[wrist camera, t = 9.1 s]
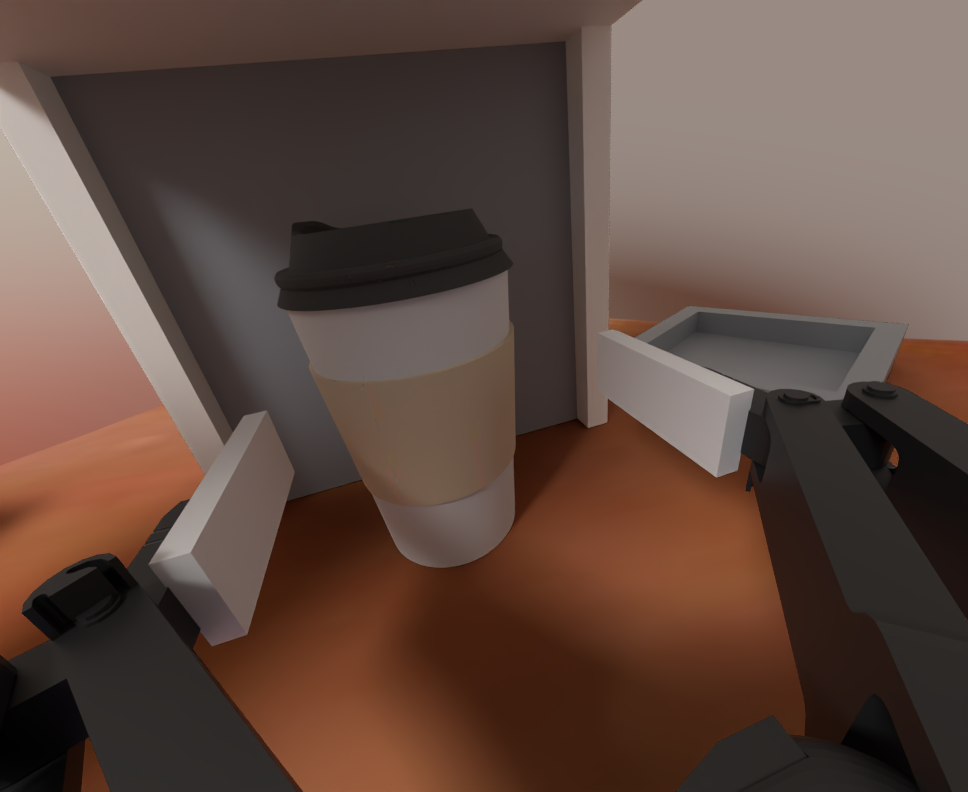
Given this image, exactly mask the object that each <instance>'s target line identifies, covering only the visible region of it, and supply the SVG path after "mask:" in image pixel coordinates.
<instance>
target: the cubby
mask: <svg viewBox="0 0 968 792" xmlns="http://www.w3.org/2000/svg"><path fill="white" fill-rule="evenodd" d="M641 1H642V0H0V128H1V130H2V131H3V133H4V135H5V137H6V138H7V140H8V142H9V143H10V145H11V147H12V148H13V150H14V152H15V154H16V155H17V157H18V158H19V160H20V162H21V164H22V165H23V167H24V169H25V170H26V172H27V174H28V176H29V177H30V179H31V180H32V182H33V184H34V186H35V187H36V189H37V191H38V193H39V194H40V196H41V198H42V199H43V201H44V203H45V204H46V206H47V208H48V209H49V211H50V213H51V215H52V216H53V218H54V220H55V221H56V223H57V225H58V226H59V228H60V230H61V231H62V233H63V235H64V237H65V238H66V240H67V242H68V243H69V245H70V247H71V248H72V250H73V252H74V254H75V255H76V257H77V259H78V260H79V262H80V264H81V265H82V267H83V269H84V270H85V272H86V274H87V276H88V277H89V279H90V281H91V282H92V284H93V285H94V287H95V289H96V291H97V293H98V294H99V296H100V298H101V299H102V301H103V303H104V304H105V306H106V308H107V310H108V311H109V313H110V314H111V316H112V318H113V320H114V321H115V323H116V325H117V326H118V328H119V330H120V332H121V333H122V335H123V337H124V338H125V340H126V342H127V343H128V345H129V347H130V349H131V350H132V352H133V353H134V355H135V357H136V359H137V360H138V362H139V364H140V365H141V367H142V369H143V370H144V372H145V374H146V376H147V377H148V379H149V381H150V382H151V384H152V386H153V388H154V389H155V391H156V392H157V394H158V396H159V398H160V399H161V401H162V403H163V405H164V406H165V408H166V410H167V411H168V413H169V415H170V416H171V418H172V420H173V421H174V423H175V425H176V427H177V428H178V430H179V432H180V433H181V435H182V437H183V438H184V440H185V442H186V444H187V445H188V447H189V449H190V450H191V452H192V454H193V455H194V457H195V459H196V460H197V462H198V464H199V466H200V467H201V469H202V471H203V472H204V474H205V476H206V474H207V472H208V471H209V469H210V468H211V466H212V465H213V463H214V462H215V460H216V458H217V457H218V455H219V454H220V452H221V451H222V449H223V448H224V446H225V444H226V443H227V441H228V440H229V438H230V437H231V435H232V434H233V432H234V430H235V429H236V427H237V426H238V424H239V423H240V421H241V420H242V418H243V416H245V415H249V414H253V413H258V412H262V411H266V410H267V412H268V414H269V416H270V418H271V420H272V423H273V425H274V427H275V429H276V431H277V434H278V436H279V438H280V440H281V442H282V445H283V447H284V449H285V451H286V453H287V456H288V458H289V460H290V462H291V464H292V467H293V469H294V471H295V473H294V477H293V480H292V483H291V487H290V490H289V494H288V497H287V501H289V500H292V499H296V498H299V497H303V496H306V495H310V494H313V493H317V492H321V491H324V490H328V489H331V488H335V487H338V486H342V485H345V484H349V483H352V482H356V481H359V480H362V478H361V476H360V474H359V472H358V470H357V468H356V466H355V464H354V461H353V459H352V457H351V455H350V453H349V451H348V449H347V447H346V445H345V443H344V441H343V439H342V437H341V434H340V432H339V430H338V428H337V426H336V424H335V422H334V420H333V418H332V416H331V414H330V412H329V410H328V407H327V405H326V403H325V401H324V399H323V397H322V395H321V393H320V391H319V389H318V387H317V385H316V383H315V380H314V378H313V376H312V374H311V372H310V370H309V363H310V360H309V358H308V356H307V353H306V351H305V349H304V347H303V345H302V343H301V341H300V338H299V336H298V334H297V332H296V330H295V328H294V325H293V323H292V321H291V319H290V317H289V315H288V313H287V310H284V309H281V308H279V307H278V306H277V303H278V298H279V293H280V289H281V288H279V287H278V286H277V285H276V283H275V280H274V277H275V274H276V273H277V272H278V271H280V270H283V269H285V268H288V267H289V261H290V247H291V230H292V224H293V223H296V222H307V221H317V222H322V223H325V224H327V225H329V226H332V227H337V228H347V227H354V226H360V225H367V224H373V223H379V222H386V221H392V220H399V219H405V218H412V217H418V216H425V215H431V214H438V213H444V212H450V211H457V210H464V209H470V208H472V209H473V211H474V212H475V214H476V215H477V217H478V219H479V220H480V222H481V223H482V225H483V227H484V228H485V230H486V231H487V233H488V234H496V235H498V236H499V237H500V238H501V239H502V243H503V246H502V249H503V250H504V251H505V253H506V254H507V255H508V257H509V258H510V259H511V261H512V262H513V265H512V267H511V268H509V269H508V300H509V320H510V321H511V322H512V324H513V326H514V368H515V436H517V435H521V434H524V433H528V432H531V431H535V430H538V429H542V428H545V427H549V426H552V425H556V424H559V423H563V422H566V421H570V420H573V419H577V418H578V419H579V420H580V421H581V422H582V423H583V424H584V425H585V426H586V427H588V428H590V427H594V426H597V425H601V424H604V423H607V415H608V398H606V397H605V396H603V395H602V394H601V393H599V392H598V333H600V332H604V331H608V316H609V314H608V313H609V311H608V310H609V216H610V213H609V211H610V207H609V206H610V116H611V115H610V113H611V112H610V110H611V109H610V108H611V25H612V24H613V23H615V22H616V21H617V20H618V19H619V18H621V17H622V16H623V15H625V14H626V13H627V12H628V11H630V10H631V9H632V8H633V7H634V6H636V5H637V4H638V3H639V2H641Z"/></svg>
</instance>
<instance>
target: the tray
mask: <svg viewBox="0 0 968 792" xmlns="http://www.w3.org/2000/svg"><path fill="white" fill-rule="evenodd" d="M907 327H908V324H900V323H888V322H876V321H864V320H852V319H840V318H827V317H816V316H815V317H814V316H802V315H791V314H779V313H767V312H755V311H742V310H730V309H718V308H706V307H695V306H688V307H686V308H685V309H683V310H681V311H679V312H678V313H676V314H674V315H673V316H671V317H669V318H667V319H666V320H664V321H662V322H660V323H659V324H657V325H655V326H654V327H652V328H650V329H648V330H647V331H645V332H643V333H642V334H640V335H638V336H636V337H635V339H638V340H640V341H643V342H645V343H647V344H650V345H652V346H654V347H657V348H659V349H661V350H664V351H666V352H668V353H671V354H673V355H675V356H678V357H680V358H682V359H685V360H687V361H689V362H692V363H694V364H696V365H699V366H702V367H707V368H711V369H713V370H715V371H718V372H720V373H722V375H727V376H730V377H732V378H733V380H734V379H737V380H739V381H741V382H744V383H746V384H749V385H751V386H753V387H756V388H758V389H760V390H763V391H765V392H768V393H769V392H770V391H772V390H777V389H796V390H803V391H806V392H810V393H813V394H816V395H818V396H820V397H821V398H823V399H824V400H825V401H829V400H842V399H844V395H845V392H846V389H847V386H848V385H849V384H852V383H854V382H862V381H864V382H871V381H880V382H886V381H887V378H888V376H889V374H890V371H891V369H892V367H893V365H894V362H895V359H896V357H897V354H898V351H899V349H900V346H901V343H902V341H903V338H904V335H905V333H906V330H907Z"/></svg>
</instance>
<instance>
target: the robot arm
mask: <svg viewBox="0 0 968 792" xmlns="http://www.w3.org/2000/svg"><path fill="white" fill-rule="evenodd" d="M598 392H599V393H601V394H602V395H603V396H605V397H606V398H608V399H609V400H610V401H612V402H613V403H614V404H616V405H617V406H619V407H620V408H621V409H623V410H624V411H625V412H627V413H628V414H630V415H631V416H632V417H634V418H635V419H636V420H638V421H639V422H641V423H642V424H643V425H645V426H646V427H647V428H649V429H650V430H652V431H653V432H654V433H656V434H657V435H659V436H660V437H661V438H663V439H664V440H665V441H667V442H668V443H670V444H671V445H672V446H674V447H675V448H676V449H678V450H679V451H681V452H682V453H683V454H685V455H686V456H687V457H689V458H690V459H692V460H693V461H694V462H696V463H697V464H698V465H700V466H701V467H703V468H704V469H705V470H707V471H708V472H709V473H711V474H712V475H714V476H715V477H716V478H717V477H720V476H723V475H726V474H729V473H732V472H735V471H738V467H739V462H740V457H741V453H742V454H744V455H745V456H747V457H749V458H750V459H752V463H751V467H750V472H749V476H748V481H747V485H746V491H749V492H750V489H751V487H752V486H754V490H755V494H756V498H757V503H758V507H759V511H760V515H761V520H762V524H763V528H764V532H765V536H766V541H767V545H768V549H769V553H770V557H771V562H772V566H773V570H774V574H775V578H776V583H777V587H778V591H779V595H780V600H781V604H782V608H783V612H784V616H785V621H786V625H787V629H788V633H789V637H790V642H791V646H792V650H793V654H794V658H795V663H796V667H797V671H798V675H799V680H800V684H801V688H802V692H803V696H804V702H805V711H806V719H805V736H796V735H789V734H788V733H787V732H786V731H785V729H784V728H783V727H782V726H781V725H780V723H779V722H778V721H777V720H776V718H775V717H774V716H773V715H772V716H770V717H768V718H766V719H764V720H762V721H760V722H758V723H756V724H754V725H752V726H750V727H748V728H746V729H744V730H742V731H740V732H737V733H735V734H733V735H731V736H729V737H727V738H725V739H723V740H721V741H719V742H717V743H716V745H715V746H714V747H713V748H712V749H711V751H710V752H709V753H708V754H707V755H706V756H705V758H704V759H703V760H702V761H701V762H700V764H699V765H698V766H697V767H696V768H695V769H694V771H693V772H692V773H691V774H690V775H689V777H688V778H687V779H686V780H685V781H684V782H683V784H682V785H681V786H680V787H679V788H678V790H677V791H676V792H968V621H967V620H968V424H966V423H965V422H963V421H961V420H959V419H958V418H956V417H954V416H952V415H951V414H949V413H947V412H945V411H944V410H942V409H940V408H938V407H937V406H935V405H933V404H931V403H930V402H928V401H926V400H924V399H923V398H921V397H919V396H917V395H916V394H914V393H912V392H910V391H908V390H906V389H904V388H901V387H898V386H895V385H891V384H890V383H886V382H880V381H871V382H864V381H862V382H854V383H852V384H849V385H848V386H847V389H846V392H845V395H844V399H842V400H829V401H825V400H824V399H823V398H821V397H820V396H818V395H816V394H813V393H810V392H806V391H803V390H796V389H777V390H772V391H770V392H769V393H768V392H765V391H763V390H760V389H758V388H756V387H753V386H751V385H749V384H746V383H744V382H741V381H739V380H737V379H734V380H733V378H732V377H730V376H727V375H722V373H720V372H718V371H715V370H713V369H711V368H707V367H702V366H699V365H696V364H694V363H692V362H689V361H687V360H685V359H682V358H680V357H678V356H675V355H673V354H671V353H668V352H666V351H664V350H661V349H659V348H657V347H654V346H652V345H650V344H647V343H645V342H643V341H640V340H638V339H635V338H633V337H631V336H628V335H626V334H624V333H621V332H619V331H617V330H614V329H613V330H608V331H604V332H600V333H598ZM894 447H895V448H896V450H897V452H898V455H899V462H898V466H897V467H895V466H894V465H893V464H892V463H890V462H889V459H890V456H891V454H892V452H893V449H894ZM294 473H295V471H294V469H293V467H292V464H291V462H290V460H289V458H288V456H287V453H286V451H285V449H284V447H283V445H282V442H281V440H280V438H279V436H278V434H277V431H276V429H275V427H274V425H273V423H272V420H271V418H270V416H269V414H268V412H267V410H266V411H262V412H258V413H253V414H249V415H245V416H243V418H242V420H241V421H240V423H239V424H238V426H237V427H236V429H235V430H234V432H233V434H232V435H231V437H230V438H229V440H228V441H227V443H226V444H225V446H224V448H223V449H222V451H221V452H220V454H219V455H218V457H217V458H216V460H215V462H214V463H213V465H212V466H211V468H210V469H209V471H208V472H207V474H206V476H205V477H204V479H203V480H202V482H201V483H200V485H199V486H198V488H197V489H196V491H195V493H194V494H193V496H192V497H191V499H189V500H185V501H181V502H180V503H178V504H177V505H176V506H175V507H174V508H173V509H172V510H170V511H169V512H168V513H167V514H166V515H165V516H164V517H163V518H162V520H161V521H160V522H159V524H158V525H157V527H156V528H155V530H154V533H153V534H151V535H150V537H149V538H148V540H147V541H146V543H145V546H143V547H142V548H141V550H140V551H139V553H138V554H137V555H136V557H135V558H134V560H133V561H132V563H131V564H130V566H129V567H128V568H127V569H126V568H125V566H124V565H123V564H122V563H121V562H120V560H119V559H118V558H117V557H116V556H114V555H112V554H110V553H109V554H99V555H95V556H92V557H89V558H86V559H83V560H81V561H79V562H77V563H75V564H73V565H71V566H69V567H67V568H65V569H63V570H62V571H60V572H59V573H57V574H56V575H54V576H52V577H51V578H49V579H48V580H47V581H45V582H44V583H43V584H42V585H41V586H40V587H38V588H37V589H36V590H35V591H34V592H33V593H32V594H31V595H30V596H29V598H28V599H27V600H26V602H25V603H24V604H23V609H22V614H23V615H24V616H25V617H27V618H28V619H29V620H30V621H31V622H32V623H33V624H34V625H35V626H36V627H37V628H39V629H40V630H41V631H42V632H43V633H44V634H45V635H46V636H47V637H48V638H49V639H51V640H49V641H47V642H45V643H43V644H41V645H39V646H37V647H35V648H33V649H31V650H29V651H27V652H25V653H23V654H21V655H19V656H17V657H15V658H13V659H11V660H9V661H7V660H6V659H5V658H3V657H2V656H1V655H0V792H81V785H82V773H83V760H84V748H85V739H86V738H88V737H90V740H91V742H92V745H93V748H94V750H95V753H96V755H97V758H98V761H99V763H100V766H101V768H102V771H103V774H104V776H105V779H106V781H107V784H108V787H109V789H110V792H303V791H302V790H301V789H300V787H299V786H298V785H297V783H296V782H295V781H294V779H293V778H292V777H291V776H290V774H289V773H288V772H287V770H286V769H285V768H284V767H283V765H282V764H281V763H280V761H279V760H278V759H277V757H276V756H275V755H274V754H273V752H272V751H271V750H270V748H269V747H268V746H267V745H266V743H265V742H264V741H263V739H262V738H261V737H260V735H259V734H258V733H257V732H256V730H255V729H254V728H253V726H252V725H251V724H250V723H249V721H248V720H247V719H246V717H245V716H244V715H243V713H242V712H241V711H240V710H239V708H238V707H237V706H236V704H235V703H234V702H233V700H232V699H231V698H230V697H229V695H228V694H227V693H226V691H225V690H224V689H223V688H222V686H221V685H220V684H219V682H218V681H217V680H216V678H215V677H214V676H213V675H212V673H211V672H210V671H209V669H208V668H207V667H206V666H205V664H204V663H203V662H202V660H201V659H200V658H199V656H198V655H197V654H196V653H195V652H194V650H193V647H194V644H195V642H196V639H197V637H198V635H199V632H201V633H202V635H203V636H204V637H205V638H206V640H207V641H208V642H209V644H210V645H211V646H215V645H218V644H221V643H224V642H227V641H230V640H233V639H236V638H239V637H242V636H245V635H247V634H248V631H249V627H250V624H251V620H252V617H253V614H254V610H255V607H256V603H257V600H258V596H259V593H260V590H261V586H262V583H263V579H264V576H265V572H266V569H267V566H268V562H269V559H270V555H271V552H272V548H273V545H274V542H275V538H276V535H277V531H278V528H279V524H280V521H281V518H282V514H283V511H284V507H285V504H286V501H287V497H288V494H289V490H290V487H291V483H292V480H293V477H294ZM966 618H967V619H966Z"/></svg>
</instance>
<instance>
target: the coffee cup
mask: <svg viewBox="0 0 968 792" xmlns="http://www.w3.org/2000/svg"><path fill="white" fill-rule="evenodd" d="M502 246H503V243H502V239H501V238H500V237H499V236H498V235H496V234H488V233H487V231H486V230H485V228H484V227H483V225H482V223H481V222H480V220H479V219H478V217H477V215H476V214H475V212H474V211H473V209H472V208H470V209H464V210H457V211H450V212H444V213H438V214H431V215H425V216H418V217H412V218H405V219H399V220H392V221H386V222H379V223H373V224H367V225H360V226H354V227H347V228H337V227H332V226H329V225H327V224H325V223H322V222H317V221H307V222H296V223H293V224H292V230H291V247H290V261H289V267H288V268H285V269H283V270H280V271H278V272H277V273H276V274H275V277H274V280H275V283H276V285H277V286H278V287H279V288H281V289H280V293H279V298H278V303H277V306H278V307H279V308H281V309H284V310H287V313H288V315H289V317H290V319H291V321H292V323H293V325H294V328H295V330H296V332H297V334H298V336H299V338H300V341H301V343H302V345H303V347H304V349H305V351H306V353H307V356H308V358H309V360H310V363H309V370H310V372H311V374H312V376H313V378H314V380H315V383H316V385H317V387H318V389H319V391H320V393H321V395H322V397H323V399H324V401H325V403H326V405H327V407H328V410H329V412H330V414H331V416H332V418H333V420H334V422H335V424H336V426H337V428H338V430H339V432H340V434H341V437H342V439H343V441H344V443H345V445H346V447H347V449H348V451H349V453H350V455H351V457H352V459H353V461H354V464H355V466H356V468H357V470H358V472H359V474H360V476H361V478H362V480H363V482H364V484H365V486H366V488H367V489H368V490H369V491H370V492H371V493H372V495H373V498H374V500H375V502H376V504H377V506H378V508H379V511H380V513H381V515H382V517H383V519H384V521H385V523H386V526H387V528H388V530H389V532H390V534H391V536H392V538H393V541H394V543H395V545H396V547H397V548H398V550H399V551H400V552H401V553H402V554H403V555H404V556H405V557H406V558H408V559H409V560H411V561H413V562H415V563H417V564H420V565H423V566H427V567H435V568H446V567H455V566H459V565H463V564H467V563H469V562H472V561H474V560H477V559H479V558H481V557H482V556H484V555H486V554H487V553H489V552H490V551H492V550H493V549H494V548H495V547H496V546H498V545H499V544H500V543H501V542H502V540H503V539H504V538H505V537H506V535H507V534H508V532H509V530H510V528H511V526H512V524H513V521H514V517H515V491H514V459H513V455H514V452H515V447H516V438H515V368H514V326H513V324H512V322H511V321H510V320H509V300H508V269H509V268H511V267H512V265H513V262H512V261H511V259H510V258H509V257H508V255H507V254H506V253H505V251H504V250H503V249H502Z"/></svg>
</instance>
